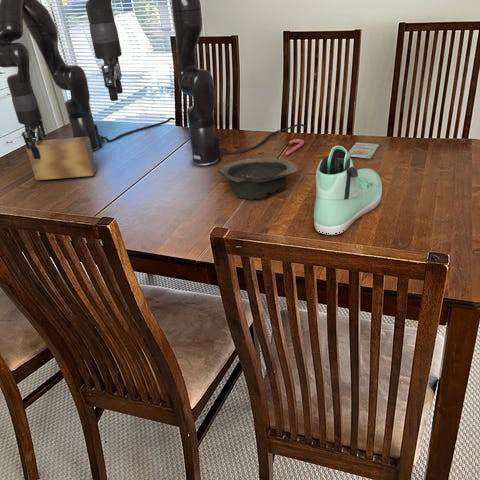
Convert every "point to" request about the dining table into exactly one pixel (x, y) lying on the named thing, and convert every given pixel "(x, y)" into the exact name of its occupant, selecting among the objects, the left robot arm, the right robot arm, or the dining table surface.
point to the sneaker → (343, 192)
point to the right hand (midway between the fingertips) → (117, 96)
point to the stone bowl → (257, 176)
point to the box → (63, 158)
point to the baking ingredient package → (363, 150)
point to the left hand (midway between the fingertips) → (40, 154)
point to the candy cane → (295, 146)
